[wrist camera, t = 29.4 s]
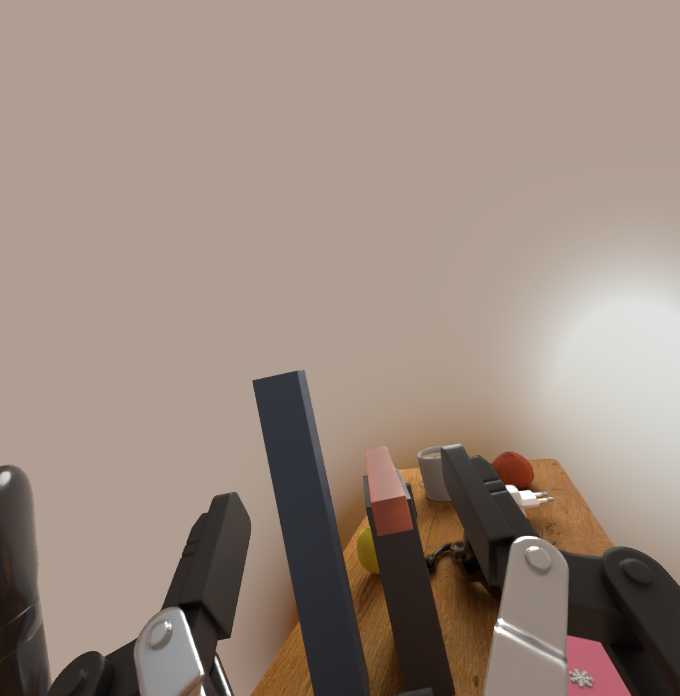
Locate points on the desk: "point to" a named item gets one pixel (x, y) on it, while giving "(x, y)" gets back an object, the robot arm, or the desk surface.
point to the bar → (386, 493)
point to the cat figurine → (464, 564)
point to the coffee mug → (433, 474)
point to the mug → (591, 670)
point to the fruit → (513, 470)
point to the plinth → (411, 605)
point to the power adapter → (527, 498)
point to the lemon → (367, 551)
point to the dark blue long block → (311, 537)
